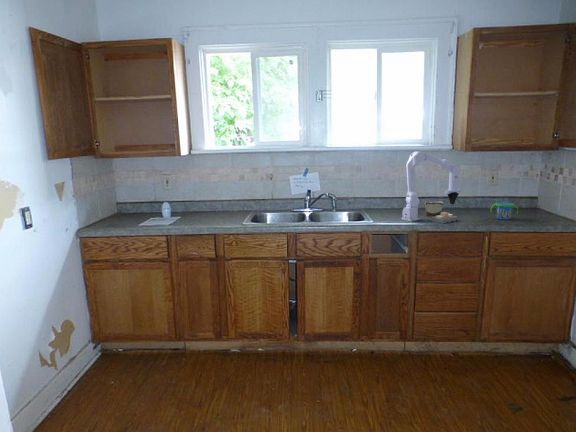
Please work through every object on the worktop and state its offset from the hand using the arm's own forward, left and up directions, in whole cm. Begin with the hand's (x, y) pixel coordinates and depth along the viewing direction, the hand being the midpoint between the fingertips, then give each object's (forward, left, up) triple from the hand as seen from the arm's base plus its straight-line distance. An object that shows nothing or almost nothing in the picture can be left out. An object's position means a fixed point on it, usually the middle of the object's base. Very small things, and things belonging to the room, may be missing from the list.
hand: (452, 204), depth 251 cm
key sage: (-13, -1, -10) cm, 17 cm away
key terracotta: (-9, -1, -8) cm, 12 cm away
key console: (-9, -1, -10) cm, 13 cm away
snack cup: (+26, -20, -10) cm, 34 cm away
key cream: (-4, -1, -10) cm, 11 cm away
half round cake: (-1, +14, -10) cm, 17 cm away
